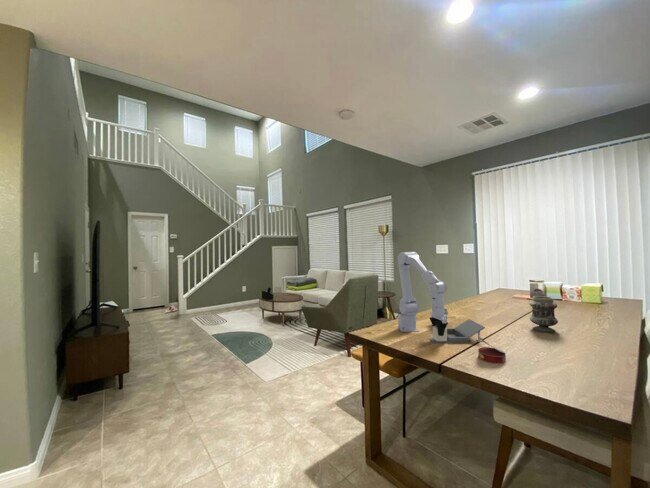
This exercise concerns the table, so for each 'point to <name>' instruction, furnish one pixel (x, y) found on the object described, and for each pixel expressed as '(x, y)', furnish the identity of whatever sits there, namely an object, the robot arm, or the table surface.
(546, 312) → the dark ornate urn
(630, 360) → the table surface
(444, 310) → the food container
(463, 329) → the case
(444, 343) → the pad
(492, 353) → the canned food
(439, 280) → the robot arm
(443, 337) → the module
